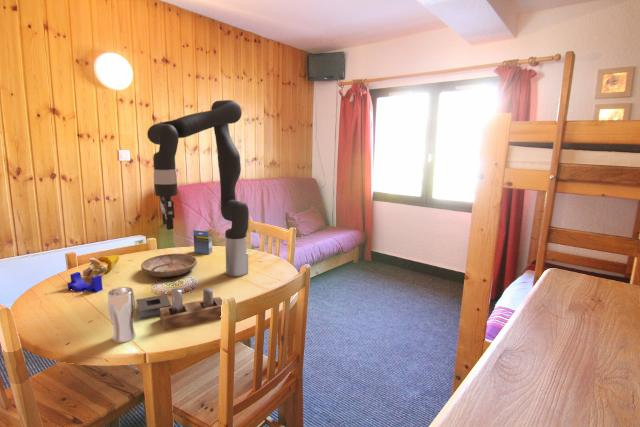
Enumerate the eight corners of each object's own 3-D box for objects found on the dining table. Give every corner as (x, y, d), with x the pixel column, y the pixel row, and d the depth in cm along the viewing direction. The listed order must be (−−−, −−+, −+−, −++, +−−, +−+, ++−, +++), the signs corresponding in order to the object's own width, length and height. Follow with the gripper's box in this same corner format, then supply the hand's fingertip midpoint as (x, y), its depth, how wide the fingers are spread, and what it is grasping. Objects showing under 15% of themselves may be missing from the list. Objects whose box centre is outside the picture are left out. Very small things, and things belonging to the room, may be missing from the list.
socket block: (166, 301, 134) (166, 294, 133) (171, 313, 125) (171, 305, 125) (136, 307, 129) (136, 299, 128) (139, 319, 120) (138, 311, 120)
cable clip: (68, 290, 141) (66, 275, 140) (78, 286, 145) (77, 272, 144) (92, 294, 138) (91, 279, 137) (102, 290, 142) (101, 275, 141)
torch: (119, 271, 172) (93, 285, 148) (103, 263, 171) (74, 276, 146) (127, 256, 172) (102, 267, 148) (112, 248, 171) (84, 258, 146)
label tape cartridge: (212, 252, 193) (212, 229, 191) (208, 254, 189) (208, 231, 187) (197, 250, 195) (197, 228, 193) (193, 252, 191) (192, 230, 189)
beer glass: (117, 331, 112) (113, 286, 109) (140, 331, 113) (137, 286, 110) (106, 344, 106) (102, 296, 103) (131, 343, 106) (127, 296, 103)
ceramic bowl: (129, 276, 157) (128, 265, 156) (169, 260, 178) (169, 250, 177) (170, 285, 149) (169, 274, 148) (207, 267, 170) (207, 257, 169)
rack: (219, 307, 131) (219, 283, 129) (226, 316, 124) (225, 291, 122) (160, 319, 121) (158, 294, 119) (163, 330, 114) (162, 303, 112)
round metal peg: (182, 318, 122) (180, 287, 120) (184, 322, 119) (182, 291, 117) (172, 320, 120) (170, 289, 118) (173, 324, 118) (172, 292, 116)
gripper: (180, 184, 123) (182, 230, 127) (173, 179, 135) (175, 221, 139) (156, 184, 120) (159, 232, 123) (151, 180, 132) (154, 223, 135)
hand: (168, 226), depth 131 cm, fingers open, 8 cm apart
